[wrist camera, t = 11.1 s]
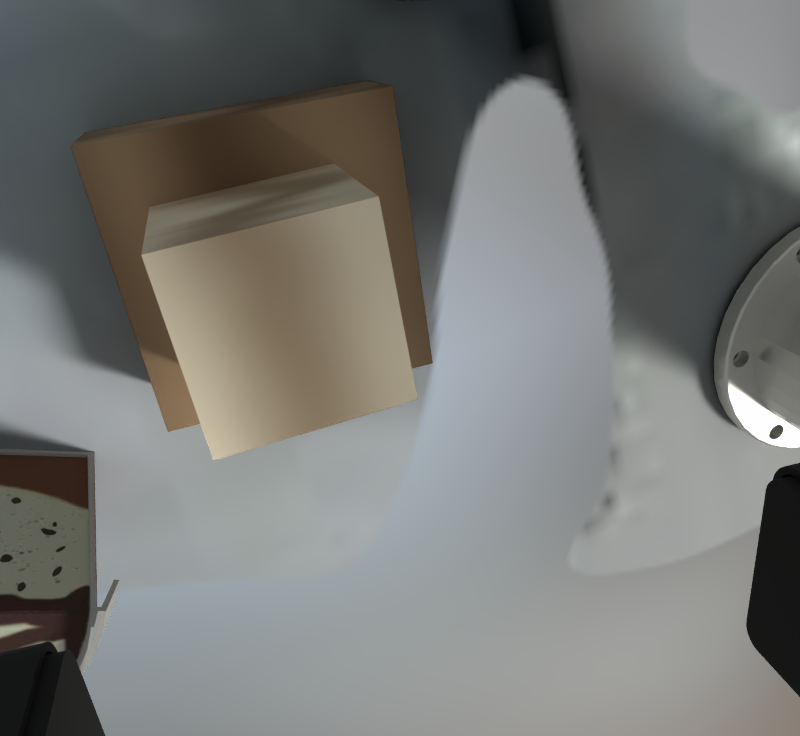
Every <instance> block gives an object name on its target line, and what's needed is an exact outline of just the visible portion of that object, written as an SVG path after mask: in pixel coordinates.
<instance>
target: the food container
mask: <svg viewBox="0 0 800 736" xmlns="http://www.w3.org/2000/svg"><path fill="white" fill-rule="evenodd" d="M118 585H119V580H114V581H113V583H112V586H111V588H110V590H109V592H108V594H107V596H106V599H105V601H104V603H103V605H102V607H97V572H96V519H95V466H94V452H81V451H54V450H28V449H1V448H0V653H2V652H6V651H10V650H14V649H18V648H23V647H27V646H31V645H35V644H40V643H44V642H51V643H52V644H53V645H54V646H55V647H56V649H57V651H58V652H61V651H65V650H71V651H72V652H73V654H74V656H75V658H76V661H77V663H78V666H79V669H80V671H81V674H83V673H84V671H85V669H86V668H87V666H88V664H89V663H90V661H91V660H92V658H93V656H94V654H95V651H96V649H97V647H98V644H99V642H100V640H101V637H102V635H103V633H104V631H105V628H106V626H107V623H108V620H109V618H110V615H111V613H112V610H113V608H114V605H115V602H116V596H117V590H118Z"/></svg>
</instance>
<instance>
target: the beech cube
mask: <svg viewBox="0 0 800 736" xmlns="http://www.w3.org/2000/svg"><path fill="white" fill-rule="evenodd" d="M141 256H142V259H143V262H144V264H145V267H146V270H147V273H148V276H149V279H150V282H151V284H152V287H153V290H154V293H155V296H156V299H157V301H158V304H159V307H160V310H161V313H162V316H163V319H164V321H165V324H166V327H167V330H168V333H169V336H170V338H171V341H172V344H173V347H174V350H175V353H176V356H177V358H178V361H179V364H180V367H181V370H182V373H183V375H184V378H185V381H186V384H187V387H188V390H189V393H190V395H191V398H192V401H193V404H194V407H195V410H196V413H197V415H198V418H199V421H200V424H201V427H202V430H203V432H204V435H205V438H206V441H207V444H208V447H209V450H210V452H211V455H212V458H213V461H214V460H217V459H220V458H224V457H227V456H230V455H234V454H237V453H240V452H244V451H247V450H250V449H254V448H257V447H260V446H264V445H267V444H271V443H274V442H277V441H281V440H284V439H287V438H291V437H294V436H297V435H301V434H304V433H307V432H311V431H314V430H317V429H321V428H324V427H327V426H331V425H334V424H338V423H341V422H344V421H348V420H351V419H354V418H358V417H361V416H364V415H368V414H371V413H374V412H378V411H381V410H384V409H388V408H391V407H394V406H398V405H401V404H404V403H408V402H411V401H415V400H418V398H417V393H416V388H415V383H414V378H413V372H412V367H411V362H410V357H409V352H408V346H407V341H406V336H405V331H404V325H403V320H402V315H401V310H400V305H399V299H398V294H397V289H396V284H395V279H394V273H393V268H392V263H391V258H390V253H389V247H388V242H387V237H386V232H385V226H384V221H383V216H382V211H381V206H380V200H379V196H377V195H376V194H375V193H373V192H372V191H371V190H369V189H368V188H367V187H365V186H364V185H363V184H361V183H360V182H358V181H357V180H356V179H354V178H353V177H352V176H350V175H349V174H348V173H346V172H345V171H344V170H342V169H341V168H339V167H338V166H337V165H335V164H329V165H325V166H321V167H317V168H312V169H308V170H304V171H300V172H295V173H291V174H287V175H283V176H278V177H274V178H270V179H266V180H261V181H257V182H253V183H249V184H245V185H240V186H236V187H232V188H228V189H223V190H219V191H215V192H211V193H206V194H202V195H198V196H194V197H189V198H185V199H181V200H177V201H172V202H168V203H164V204H160V205H155V206H151V207H149V213H148V219H147V224H146V230H145V236H144V242H143V247H142V253H141Z"/></svg>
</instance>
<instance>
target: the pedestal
mask: <svg viewBox="0 0 800 736" xmlns="http://www.w3.org/2000/svg"><path fill="white" fill-rule="evenodd" d="M71 149H72V152H73V155H74V158H75V161H76V164H77V167H78V170H79V173H80V175H81V178H82V181H83V184H84V187H85V190H86V193H87V196H88V199H89V202H90V205H91V208H92V211H93V214H94V217H95V219H96V222H97V225H98V228H99V231H100V234H101V237H102V240H103V243H104V246H105V249H106V252H107V255H108V258H109V260H110V263H111V266H112V269H113V272H114V275H115V278H116V281H117V284H118V287H119V290H120V293H121V296H122V299H123V302H124V304H125V307H126V310H127V313H128V316H129V319H130V322H131V325H132V328H133V331H134V334H135V337H136V340H137V343H138V345H139V348H140V351H141V354H142V357H143V360H144V363H145V366H146V369H147V372H148V375H149V378H150V381H151V384H152V387H153V389H154V392H155V395H156V398H157V401H158V404H159V407H160V410H161V413H162V416H163V419H164V422H165V425H166V428H167V430H168V432H169V431H173V430H177V429H181V428H184V427H188V426H192V425H196V424H200V421H199V418H198V415H197V413H196V410H195V407H194V404H193V401H192V398H191V395H190V393H189V390H188V387H187V384H186V381H185V378H184V375H183V373H182V370H181V367H180V364H179V361H178V358H177V356H176V353H175V350H174V347H173V344H172V341H171V338H170V336H169V333H168V330H167V327H166V324H165V321H164V319H163V316H162V313H161V310H160V307H159V304H158V301H157V299H156V296H155V293H154V290H153V287H152V284H151V282H150V279H149V276H148V273H147V270H146V267H145V264H144V262H143V259H142V256H141V253H142V247H143V242H144V236H145V230H146V224H147V219H148V213H149V207H151V206H155V205H160V204H164V203H168V202H172V201H177V200H181V199H185V198H189V197H194V196H198V195H202V194H206V193H211V192H215V191H219V190H223V189H228V188H232V187H236V186H240V185H245V184H249V183H253V182H257V181H261V180H266V179H270V178H274V177H278V176H283V175H287V174H291V173H295V172H300V171H304V170H308V169H312V168H317V167H321V166H325V165H329V164H335V165H337V166H338V167H339V168H341V169H342V170H344V171H345V172H346V173H348V174H349V175H350V176H352V177H353V178H354V179H356V180H357V181H358V182H360V183H361V184H363V185H364V186H365V187H367V188H368V189H369V190H371V191H372V192H373V193H375V194H376V195H377V196H379V200H380V206H381V211H382V216H383V221H384V226H385V232H386V237H387V242H388V247H389V253H390V258H391V263H392V268H393V273H394V279H395V284H396V289H397V294H398V299H399V305H400V310H401V315H402V320H403V325H404V331H405V336H406V341H407V346H408V352H409V357H410V362H411V367H412V368H416V367H419V366H423V365H427V364H431V363H432V356H431V349H430V342H429V335H428V328H427V321H426V314H425V307H424V300H423V293H422V286H421V279H420V272H419V265H418V258H417V251H416V244H415V237H414V230H413V223H412V216H411V209H410V202H409V195H408V189H407V182H406V175H405V168H404V161H403V154H402V147H401V140H400V133H399V126H398V119H397V112H396V105H395V98H394V91H393V86H390V85H385V84H381V83H376V82H371V81H363V82H358V83H352V84H347V85H341V86H336V87H331V88H325V89H320V90H314V91H309V92H303V93H298V94H293V95H287V96H282V97H276V98H271V99H265V100H260V101H255V102H249V103H244V104H238V105H233V106H228V107H222V108H217V109H211V110H206V111H200V112H195V113H190V114H184V115H179V116H173V117H168V118H163V119H157V120H152V121H146V122H141V123H135V124H130V125H125V126H119V127H114V128H108V129H103V130H97V131H92V132H87V133H84V134H83V135H82V136H81V137H80V138H79V139H78V140H77V141H76V142H75V143H74V144H72V145H71Z"/></svg>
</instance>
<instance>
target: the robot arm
mask: <svg viewBox="0 0 800 736" xmlns="http://www.w3.org/2000/svg"><path fill="white" fill-rule="evenodd" d="M714 381H715V385H716V389H717V393H718V398H719V401H720V403H721V404H722V406H723V408H724V410H725V412H726V414H727V416H728V417H729V418H730V419H731V420H732V421H733V422H734V423H735V424H736V425H737V426H738V427H739V428H740V429H742V430H743V431H745V432H746V433H748V434H749V435H751V436H752V437H753V438H755V439H756V440H759V441H761V442H763V443H765V444H767V445H770V446H776V447H783V448H800V227H798V228H796V229H795V230H793V231H791V232H790V233H789V234H787V235H786V236H785V237H784V238H783V239H781V240H780V241H779V242H778V243H777V244H775V245H774V246H773V247H772V248H771V249H770V250H769V251H768V252H767V253H766V254H765V255H764V256H763V257H762V258H761V259H760V261H759V262H758V263H757V264H756V265H755V266H754V267H753V268H752V269H751V271H750V272H749V274H748V275H747V277H746V278H745V280H744V281H743V283H742V284H741V285H740V287H739V288H738V290H737V291H736V293H735V295H734V297H733V299H732V301H731V303H730V305H729V307H728V309H727V311H726V313H725V316H724V319H723V322H722V325H721V328H720V331H719V334H718V338H717V343H716V350H715V356H714ZM746 625H747V631H748V635H749V637H750V640H751V642H752V644H753V645H754V647H755V648H756V649H757V651H758V652H759V653H760V654H761V655H762V656H763V657H764V658H765V659H766V660H767V662H768V663H769V664H770V665H771V666H772V667H773V668H774V669H775V670H776V671H777V672H778V674H779V675H780V676H781V677H782V678H783V679H784V680H785V681H786V682H787V683H788V684H789V686H790V687H791V688H792V689H793V690H794V691H795V692H796V693H797V694H798V695H799V697H800V463H798V464H793V465H789V466H785V467H782V468H780V469H778V471H777V472H776V473H775V475H774V478H773V481H770V483H769V484H768V485H767V489H766V494H765V500H764V507H763V514H762V521H761V527H760V534H759V541H758V547H757V555H756V561H755V568H754V574H753V581H752V588H751V595H750V601H749V608H748V615H747V624H746ZM0 736H105V734H104V732H103V729H102V726H101V724H100V721H99V718H98V716H97V713H96V710H95V708H94V705H93V703H92V700H91V697H90V695H89V692H88V689H87V687H86V684H85V682H84V679H83V676H82V674H81V671H80V669H79V666H78V663H77V661H76V658H75V656H74V654H73V652H72V651H71V650H65V651H61V652H58V651H57V649H56V647H55V646H54V645H53V644H52V643H51V642H44V643H40V644H35V645H31V646H27V647H23V648H18V649H14V650H10V651H6V652H2V653H0Z"/></svg>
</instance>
